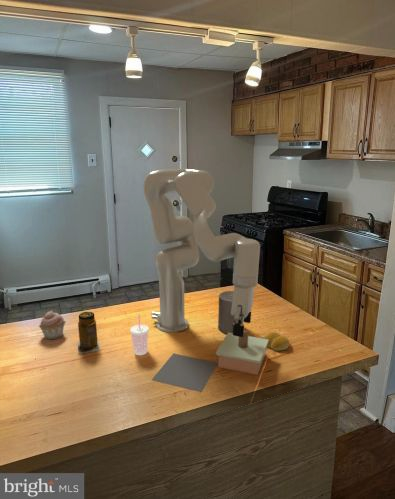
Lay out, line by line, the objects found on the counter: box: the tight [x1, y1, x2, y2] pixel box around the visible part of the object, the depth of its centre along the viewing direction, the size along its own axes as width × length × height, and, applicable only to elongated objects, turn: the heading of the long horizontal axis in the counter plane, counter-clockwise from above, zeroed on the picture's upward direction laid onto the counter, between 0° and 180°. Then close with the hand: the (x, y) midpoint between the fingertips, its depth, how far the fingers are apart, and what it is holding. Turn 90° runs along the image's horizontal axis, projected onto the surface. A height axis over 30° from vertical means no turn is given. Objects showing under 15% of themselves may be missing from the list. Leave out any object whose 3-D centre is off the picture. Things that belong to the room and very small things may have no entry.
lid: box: [215, 329, 269, 364], centre depth 120 cm, size 14×14×6 cm
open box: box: [217, 348, 267, 377], centre depth 122 cm, size 13×13×5 cm
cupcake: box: [38, 310, 67, 340], centre depth 138 cm, size 9×9×10 cm
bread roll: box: [262, 331, 290, 352], centre depth 133 cm, size 8×9×4 cm
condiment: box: [76, 311, 101, 354], centre depth 130 cm, size 7×8×12 cm
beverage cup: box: [129, 314, 149, 356], centre depth 126 cm, size 6×6×14 cm
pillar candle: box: [217, 290, 241, 335], centre depth 143 cm, size 10×10×15 cm
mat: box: [151, 353, 218, 393], centre depth 117 cm, size 16×16×1 cm
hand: (241, 328), depth 120 cm, fingers open, 9 cm apart
